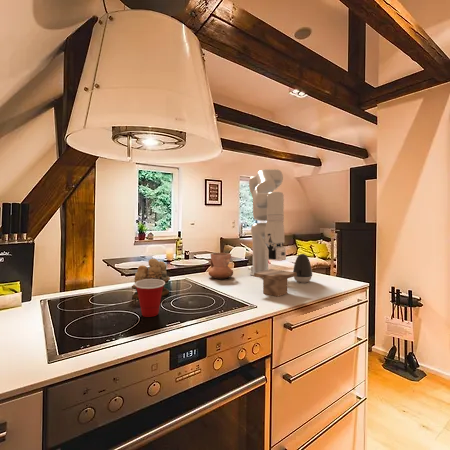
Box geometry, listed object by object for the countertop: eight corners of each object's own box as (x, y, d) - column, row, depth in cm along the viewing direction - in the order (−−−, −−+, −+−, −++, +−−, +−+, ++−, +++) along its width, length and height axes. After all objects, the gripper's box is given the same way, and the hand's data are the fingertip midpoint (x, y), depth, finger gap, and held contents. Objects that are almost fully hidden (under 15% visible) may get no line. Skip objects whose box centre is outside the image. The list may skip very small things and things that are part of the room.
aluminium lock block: (265, 259, 132) (265, 246, 132) (271, 258, 136) (271, 245, 136) (281, 261, 126) (281, 247, 126) (287, 259, 130) (287, 246, 130)
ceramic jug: (239, 278, 164) (239, 253, 164) (219, 281, 155) (218, 255, 155) (221, 274, 178) (221, 251, 178) (201, 276, 170) (201, 253, 170)
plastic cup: (137, 322, 96) (137, 286, 96) (132, 312, 106) (131, 280, 106) (169, 316, 101) (168, 283, 101) (161, 308, 111) (160, 277, 111)
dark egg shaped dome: (310, 279, 160) (310, 252, 159) (314, 284, 149) (314, 255, 149) (291, 279, 161) (291, 252, 160) (294, 283, 150) (294, 255, 150)
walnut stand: (254, 293, 131) (254, 273, 131) (271, 287, 142) (271, 268, 141) (280, 299, 122) (280, 277, 122) (296, 292, 132) (296, 272, 132)
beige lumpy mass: (163, 289, 140) (163, 255, 139) (176, 294, 131) (176, 257, 130) (127, 296, 128) (127, 258, 128) (138, 302, 119) (138, 261, 119)
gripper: (278, 218, 140) (278, 255, 140) (257, 219, 127) (257, 259, 128) (292, 218, 134) (292, 257, 135) (271, 219, 122) (271, 261, 122)
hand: (275, 257), depth 131 cm, fingers closed on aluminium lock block, 5 cm apart
